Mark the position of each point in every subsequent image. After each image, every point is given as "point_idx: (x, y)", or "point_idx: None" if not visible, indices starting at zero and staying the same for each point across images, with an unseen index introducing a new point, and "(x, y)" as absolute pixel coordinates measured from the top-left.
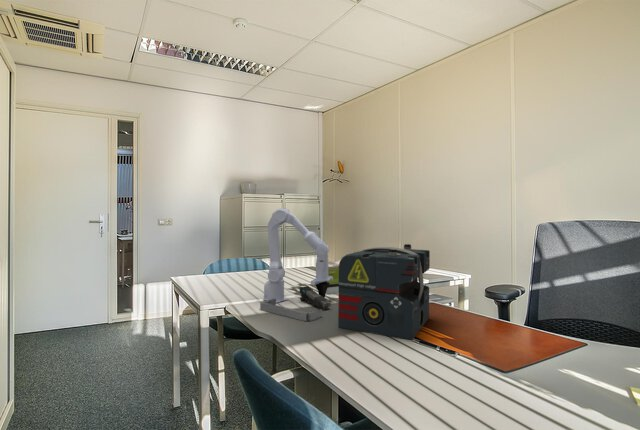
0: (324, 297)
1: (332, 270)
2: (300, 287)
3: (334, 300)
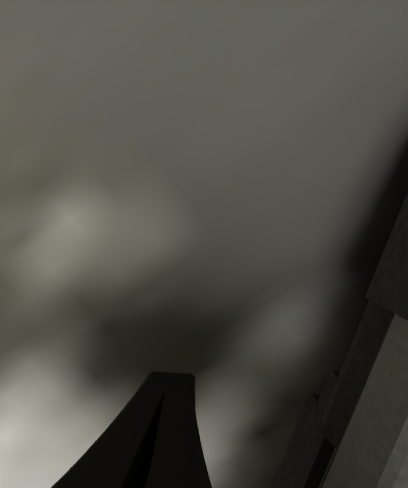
0: (157, 376)
1: None
2: None
3: (13, 280)
